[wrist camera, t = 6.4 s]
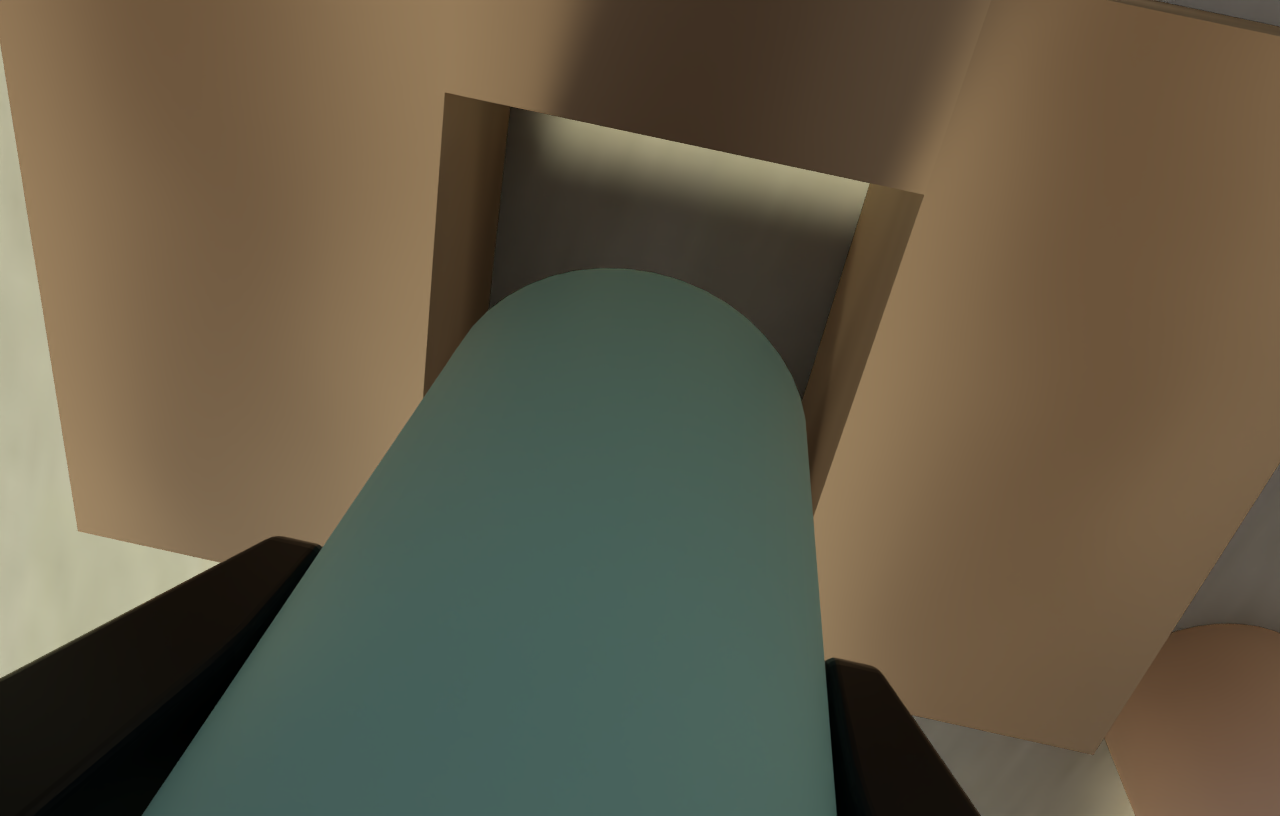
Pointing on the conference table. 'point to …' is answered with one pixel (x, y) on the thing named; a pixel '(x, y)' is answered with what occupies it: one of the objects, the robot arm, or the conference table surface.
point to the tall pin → (554, 588)
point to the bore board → (853, 336)
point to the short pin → (1204, 726)
